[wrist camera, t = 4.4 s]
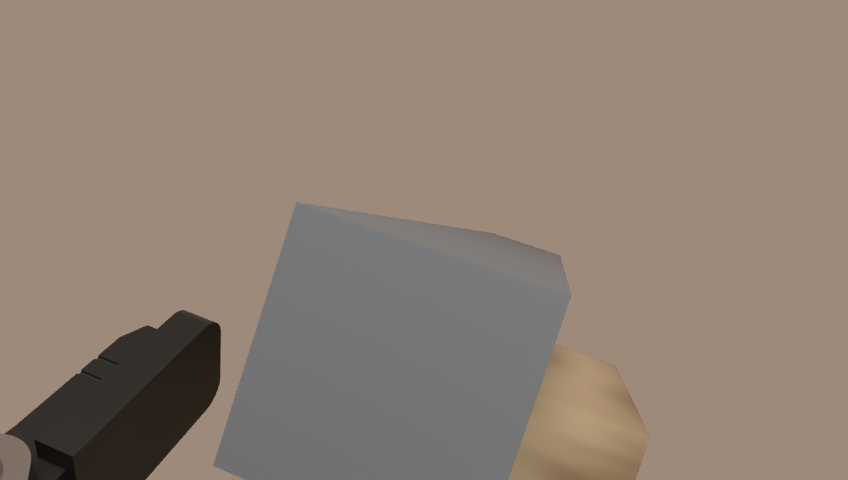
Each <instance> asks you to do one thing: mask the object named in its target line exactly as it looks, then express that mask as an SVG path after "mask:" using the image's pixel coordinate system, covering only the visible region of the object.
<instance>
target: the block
mask: <svg viewBox="0 0 848 480" xmlns="http://www.w3.org/2000/svg"><path fill="white" fill-rule="evenodd" d="M570 297H571V294H570V290H569V286H568V283H567V279H566V275H565V272H564V268H563V264H562V261H561V257H560V255H557V254H553V253H550V252H547V251H544V250H541V249H538V248H535V247H532V246H529V245H526V244H523V243H520V242H517V241H514V240H511V239H508V238H505V237H502V236H498V235H496V234H493V233H486V232H480V231H473V230H467V229H461V228H455V227H448V226H442V225H436V224H429V223H423V222H417V221H411V220H404V219H398V218H392V217H386V216H379V215H373V214H366V213H360V212H354V211H347V210H341V209H335V208H329V207H322V206H316V205H310V204H303V203H296V205H295V208H294V211H293V215H292V217H291V221H290V224H289V227H288V230H287V233H286V237H285V240H284V243H283V246H282V249H281V252H280V256H279V259H278V262H277V265H276V268H275V272H274V275H273V278H272V281H271V284H270V287H269V290H268V294H267V297H266V300H265V303H264V307H263V310H262V313H261V316H260V319H259V322H258V326H257V328H256V332H255V335H254V339H253V341H252V344H251V348H250V351H249V354H248V357H247V361H246V363H245V367H244V370H243V373H242V376H241V379H240V383H239V386H238V390H237V392H236V395H235V399H234V401H233V405H232V408H231V411H230V414H229V418H228V421H227V424H226V427H225V430H224V433H223V436H222V440H221V443H220V446H219V449H218V452H217V455H216V459H215V462H214V466H215V467H217V468H220V469H222V470H224V471H227V472H229V473H231V474H234V475H236V476H238V477H240V478H243V479H245V480H508V479H509V476H510V473H511V470H512V467H513V465H514V462H515V459H516V456H517V453H518V450H519V447H520V444H521V441H522V438H523V435H524V432H525V429H526V426H527V424H528V421H529V418H530V415H531V412H532V409H533V406H534V403H535V400H536V397H537V394H538V391H539V388H540V386H541V383H542V380H543V377H544V374H545V371H546V368H547V365H548V362H549V359H550V356H551V353H552V350H553V347H554V345H555V342H556V339H557V335H558V333H559V330H560V327H561V324H562V321H563V318H564V315H565V312H566V309H567V306H568V304H569V301H570Z"/></svg>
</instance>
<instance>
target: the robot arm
mask: <svg viewBox="0 0 848 480" xmlns="http://www.w3.org/2000/svg"><path fill="white" fill-rule="evenodd" d="M220 330H221V329H220V326H219V324H218V323H215V322H213V321H210V320H208V319H205V318H203V317H200V316H198V315H195V314H193V313H190V312H187V311H185V310H182V311H178V312H177V313H175V314H174V315H173V316H172V317H170V318H169V319H168V320H167V321H166V322H165V323H164V324H163V325H161V326H160V327H159V328H158V329H155V328H153V327H150V326H145V327H142V328H140V329H138V330H136V331H133V332H131V333H129V334H126V335H124V336H122V337H120V338H118V339H117V340H116V341H115V342H114V343H113V344H112V345H110V346H109V347H108V348H107V349H105V350H104V351H103V352H102V353H101V354H100V355H99V356H98V358H97V359H94V360H92V361H91V362H90V363H89V364H88V365H87V366H85V367H84V368H83V369H82V370H81V373H80V374H76V375H75V376H74V377H72V378H71V379H70V380H69V381H68V382H66V383H65V384H64V385H63V386H62V387H61V388H59V389H58V390H57V391H56V392H55V393H54V394H53V395H51V396H50V397H49V398H48V399H46V400H45V401H44V402H43V403H42V404H40V405H39V406H38V407H37V408H36V409H35V410H33V411H32V412H31V413H30V414H29V415H28V416H27V417H25V418H24V419H23V420H22V421H20V422H19V423H18V424H17V425H16V426H15V427H13V428H12V429H11V430H9V431H8V432H7V433H5V434H0V480H145V479H146V478H147V477H148V476H149V475H150V474H151V473H152V472H153V470H154V469H155V468H156V467H157V466H158V465H159V464H160V462H161V461H162V460H163V459H164V457H166V455H167V454H168V453H169V452H170V451H171V450H172V448H173V447H174V446H175V445H176V444H177V443H178V442H179V440H180V439H181V438H182V437H183V436H184V435H185V434H186V433H187V431H188V430H189V429H190V428H191V427H192V425H194V423H195V422H196V421H197V420H198V419H199V418H200V416H201V415H202V414H203V413H204V412H205V411H206V410H207V408H208V407H209V406H210V404H211V402H212V401H213V399H214V397H215V395H216V392H217V390H218V386H219V382H220V346H221V344H220V343H221V331H220Z"/></svg>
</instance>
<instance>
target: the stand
mask: <svg viewBox="0 0 848 480" xmlns="http://www.w3.org/2000/svg"><path fill="white" fill-rule="evenodd" d="M649 439H650V436H649V434H648V432H647V430H646V427H645V426H644V423H643V421H642V419H641V417H640V415H639V413H638V411H637V409H636V407H635V405H634V403H633V401H632V398H631V396H630V394H629V392H628V390H627V388H626V386H625V384H624V382H623V380H622V378H621V376H620V373H619V371H618V369H617V367H616V366H615V365H612V364H609V363H606V362H604V361H601V360H598V359H595V358H593V357H590V356H587V355H584V354H581V353H578V352H575V351H573V350H570V349H567V348H564V347H561V346H559V345H556V344H555V345H554V347H553V350H552V353H551V356H550V359H549V362H548V365H547V368H546V371H545V374H544V377H543V380H542V383H541V386H540V388H539V391H538V394H537V397H536V400H535V403H534V406H533V409H532V412H531V415H530V418H529V421H528V424H527V426H526V429H525V432H524V435H523V438H522V441H521V444H520V447H519V450H518V453H517V456H516V459H515V462H514V465H513V467H512V470H511V473H510V476H509V479H508V480H635V479H636V476H637V473H638V471H639V468H640V465H641V462H642V459H643V456H644V454H645V451H646V448H647V445H648V442H649ZM232 480H245V479H243V478H240V477H238V476H236V475H234V476H233V479H232Z"/></svg>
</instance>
